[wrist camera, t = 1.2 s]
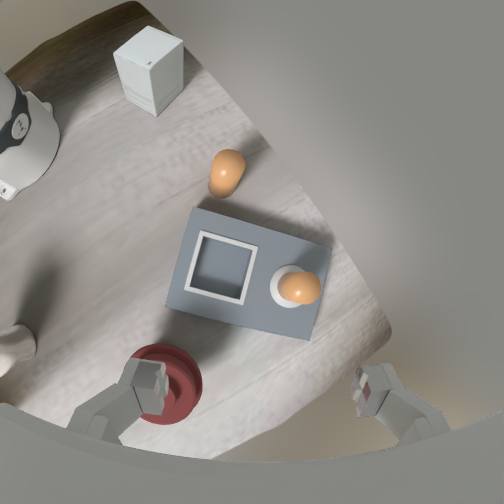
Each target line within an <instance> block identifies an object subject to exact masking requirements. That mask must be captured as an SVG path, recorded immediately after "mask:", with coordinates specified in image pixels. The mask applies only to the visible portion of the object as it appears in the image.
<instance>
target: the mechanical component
mask: <svg viewBox="0 0 504 504" xmlns="http://www.w3.org/2000/svg"><path fill="white" fill-rule="evenodd" d="M131 357H132V358H138V359H145V360H151V361H158V362H164V363H165V366H166V371H165V374H166V375H168V380H169V387H168V393H167V396H166V397H165V398H163V399H164V403H165V405H164V409H163V412H162V416H161V415H153V414H146V413H143V414H142V415H141V416H140V417H141V418H142V419H144V420H146V421H148V422H151V423H154V424H160V425H168V424H174V423H177V422H180V421H181V420H183V419H185V418H186V417H187V416H188V415H189V414H190V413H191V412H192V410H193V408H194V407H195V406H196V405H197V403H198V401H199V400H200V397H201V394H202V377H201V373H200V370H199V368H198V366H197V364H196V363H195V361H194V360H193V359H192V358H191V357H190V356H189V355H188V354H187V353H186V352H184V351H183V350H181V349H179V348H177V347H175V346H171V345H167V344H151V345H147V346H145V347H142V348H141V349H139V350H137V351H136V352H135V353H134V354H133V355H132V356H131ZM131 357H130V358H131ZM126 364H127V363H126ZM125 366H126V365H125ZM124 369H125V368H124Z"/></svg>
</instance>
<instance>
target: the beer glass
mask: <svg viewBox="0 0 504 504" xmlns="http://www.w3.org/2000/svg"><path fill="white" fill-rule="evenodd" d="M35 352H36V341H35V338H34V336H33V334H32V332H31V331H30V330H29V329H28V328H27V327H26V326H24V325H22V324H17V325H14V326H13V327H11V328H10V329H8V330H0V378H2V377H3V376H5V375H6V374H7V373H8V372H9V371H10V370H11V369H12V368H13V367H14V366H15V365H16V364H17V363H18V362H20V361H26V360H30V359H31V358H33V356H34V355H35Z"/></svg>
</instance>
